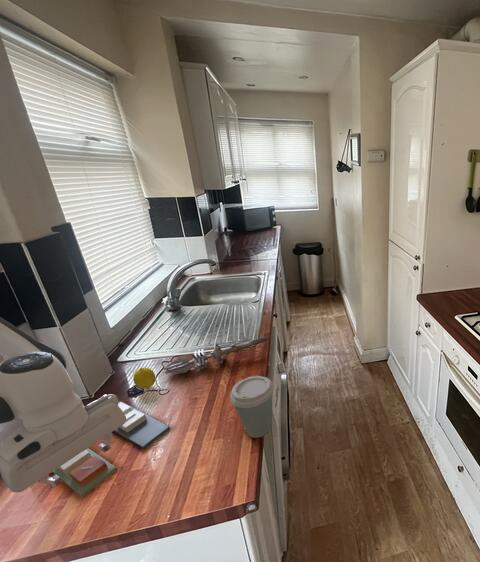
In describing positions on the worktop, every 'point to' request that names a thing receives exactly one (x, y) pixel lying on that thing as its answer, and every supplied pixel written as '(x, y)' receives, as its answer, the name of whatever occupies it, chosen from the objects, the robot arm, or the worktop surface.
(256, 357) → the worktop surface
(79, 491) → the green word strip
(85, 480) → the brown flat square block
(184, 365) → the spaceship
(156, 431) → the strip
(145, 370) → the lemon
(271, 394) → the disposable coffee cup
